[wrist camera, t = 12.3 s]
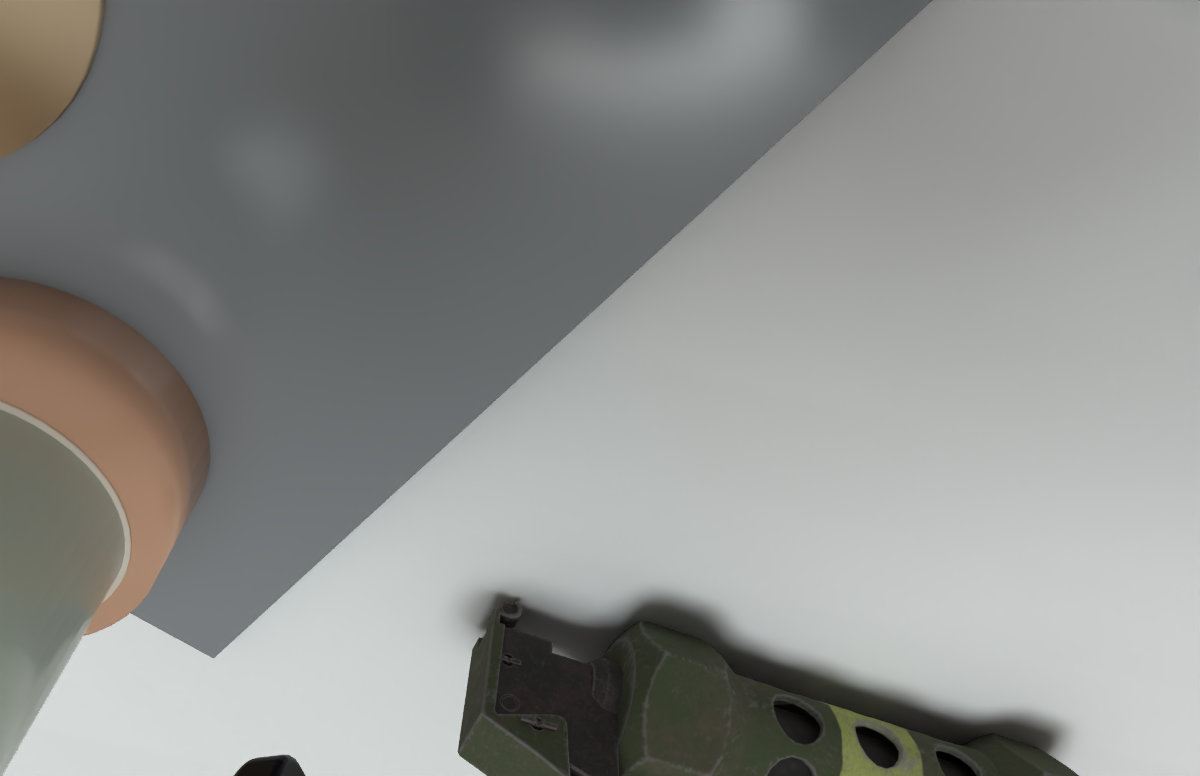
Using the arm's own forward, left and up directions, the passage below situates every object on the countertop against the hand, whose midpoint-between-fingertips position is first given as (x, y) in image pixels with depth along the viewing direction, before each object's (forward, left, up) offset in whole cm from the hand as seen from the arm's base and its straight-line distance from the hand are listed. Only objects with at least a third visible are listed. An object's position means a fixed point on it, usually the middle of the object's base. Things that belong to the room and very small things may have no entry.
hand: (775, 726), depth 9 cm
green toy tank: (+9, +14, -13) cm, 21 cm away
